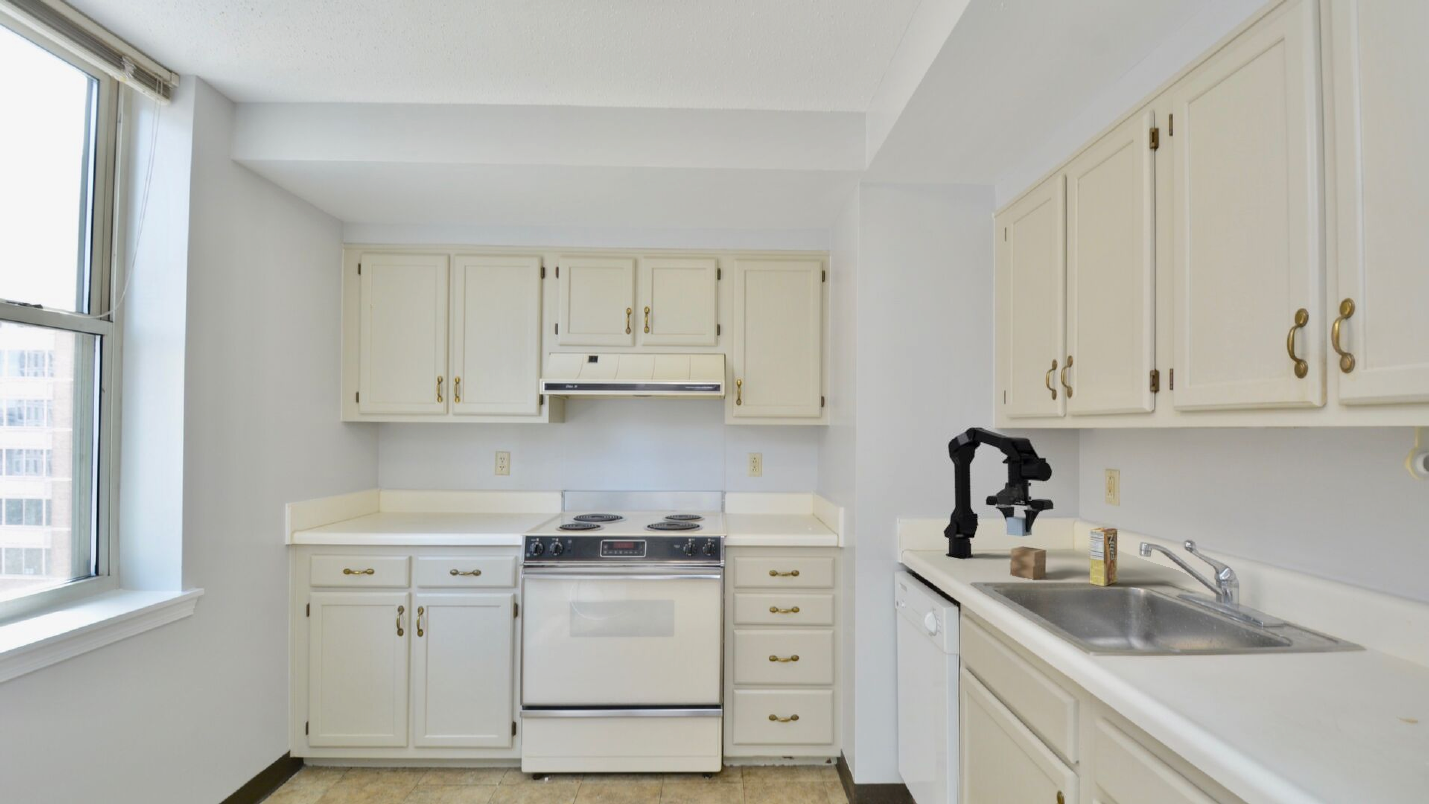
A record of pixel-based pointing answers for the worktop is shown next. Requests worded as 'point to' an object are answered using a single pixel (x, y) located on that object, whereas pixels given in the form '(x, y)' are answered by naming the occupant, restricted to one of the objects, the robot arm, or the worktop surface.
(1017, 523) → the blue block
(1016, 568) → the tower base
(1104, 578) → the candy box
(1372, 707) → the worktop surface
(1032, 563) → the tower top
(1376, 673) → the worktop surface
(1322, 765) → the worktop surface
